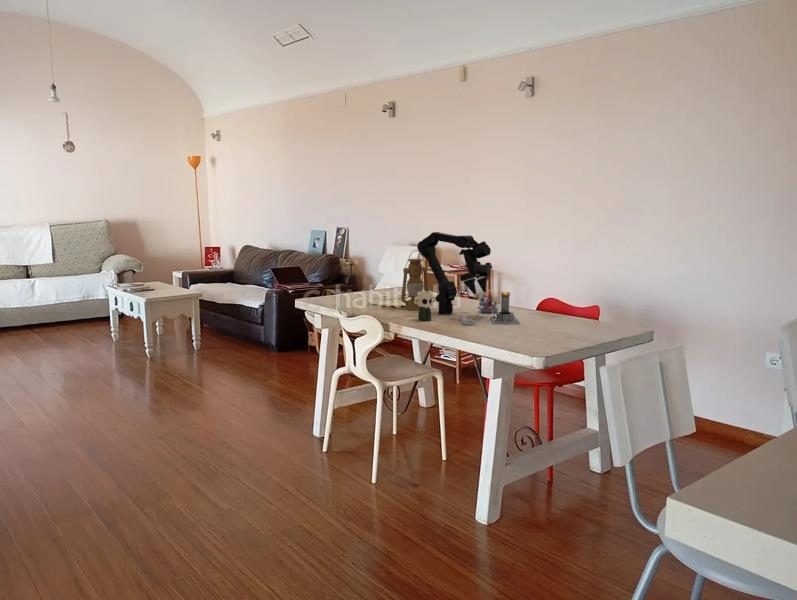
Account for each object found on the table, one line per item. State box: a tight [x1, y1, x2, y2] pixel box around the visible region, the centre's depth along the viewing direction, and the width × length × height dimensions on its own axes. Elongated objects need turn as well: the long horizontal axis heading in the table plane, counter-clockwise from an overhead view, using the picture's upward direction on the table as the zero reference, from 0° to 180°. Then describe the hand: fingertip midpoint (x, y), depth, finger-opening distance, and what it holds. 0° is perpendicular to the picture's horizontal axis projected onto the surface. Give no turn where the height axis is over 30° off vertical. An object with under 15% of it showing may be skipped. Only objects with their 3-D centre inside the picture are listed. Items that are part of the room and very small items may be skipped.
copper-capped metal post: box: [500, 291, 511, 314], centre depth 297 cm, size 4×4×12 cm
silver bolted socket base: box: [490, 311, 521, 325], centre depth 298 cm, size 12×12×4 cm
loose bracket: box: [461, 316, 475, 326], centre depth 292 cm, size 5×8×2 cm, turn 178°
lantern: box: [400, 249, 430, 311], centre depth 328 cm, size 15×10×30 cm
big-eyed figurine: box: [414, 291, 436, 321], centre depth 300 cm, size 11×7×13 cm, turn 114°
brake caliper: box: [476, 289, 499, 314], centre depth 321 cm, size 11×11×12 cm
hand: (480, 293), depth 302 cm, fingers open, 9 cm apart
